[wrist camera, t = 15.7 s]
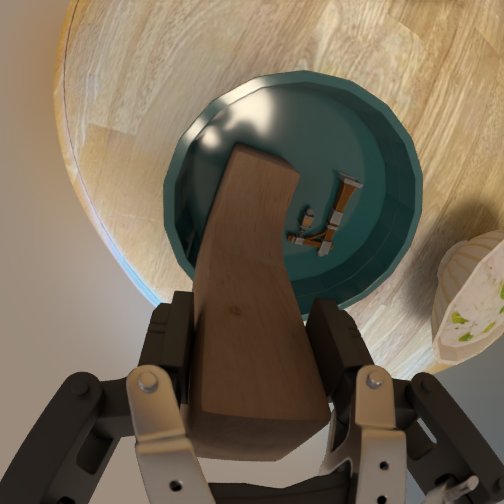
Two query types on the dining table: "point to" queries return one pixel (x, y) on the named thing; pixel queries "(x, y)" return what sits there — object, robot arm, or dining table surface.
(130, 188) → the dining table surface
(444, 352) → the bowl
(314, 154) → the teal bowl
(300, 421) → the wooden block
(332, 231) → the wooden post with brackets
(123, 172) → the dining table surface
